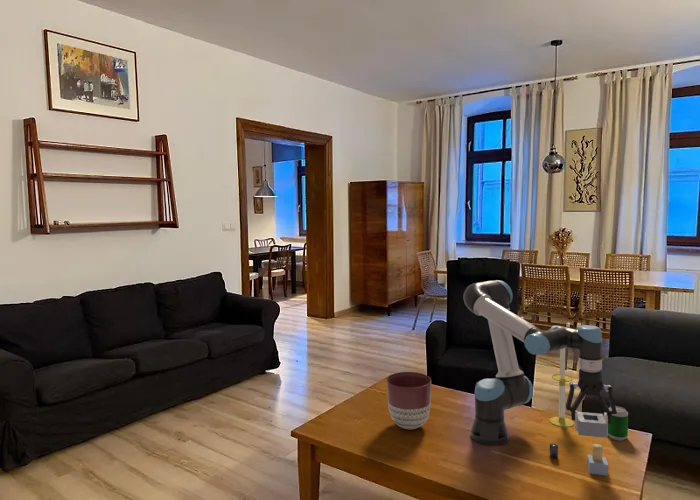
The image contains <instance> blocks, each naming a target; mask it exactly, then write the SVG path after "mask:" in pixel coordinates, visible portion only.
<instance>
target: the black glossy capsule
mask: <svg viewBox="0 0 700 500" xmlns="http://www.w3.org/2000/svg"><path fill="white" fill-rule="evenodd" d="M549 457H550V458H551V459H555V460H557V459H558V458H559V445H558V444H556V443H553V442H552V443H550V444H549Z"/></svg>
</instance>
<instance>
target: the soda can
mask: <svg viewBox="0 0 700 500" xmlns="http://www.w3.org/2000/svg"><path fill="white" fill-rule="evenodd" d="M615 407H616V411H617V414H612V415H611V424H608V434H607V437H609V438H610V439H612V440H615V441H625V440H626V439H627V438H628V435H629V434H628V430H629V412H628V411H627V410H626V409H625V407H621V406H617V405H615ZM608 408H609V410H610V409H611V406H609V407H608Z"/></svg>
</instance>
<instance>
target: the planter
mask: <svg viewBox="0 0 700 500" xmlns="http://www.w3.org/2000/svg"><path fill="white" fill-rule="evenodd" d="M386 390H387V392H386V393H387V402H388V403H387V405H388V406H387V407H388V411H389V415H390V417H391V419H392V421H393V422H394V423H395V425H397V427H400V428H401V429H405V430H416V429H418V428H421V427H422V426H423V425H424V424H426V422H427V420H428V418H429V415H430V411H431V401H432V394H431V393H432V378H431V377H430V376H429V375H426V374H424V373H420V372H415V371H400V372H396V373H392V374H389V375H388V376H387V377H386Z"/></svg>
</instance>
